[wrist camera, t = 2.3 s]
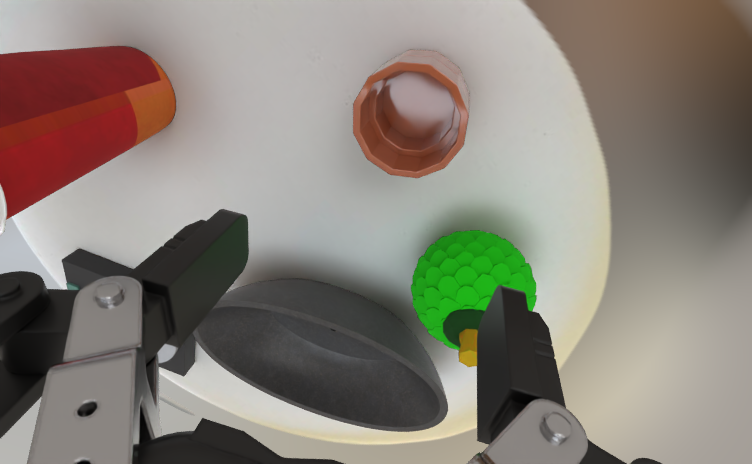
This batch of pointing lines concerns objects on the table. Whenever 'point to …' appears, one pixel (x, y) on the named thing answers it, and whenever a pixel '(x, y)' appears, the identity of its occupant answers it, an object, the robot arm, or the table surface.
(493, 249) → the ornament
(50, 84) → the coffee cup
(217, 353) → the bowl
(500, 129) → the table surface
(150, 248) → the table surface
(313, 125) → the table surface
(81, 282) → the scale
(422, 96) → the small bowl
